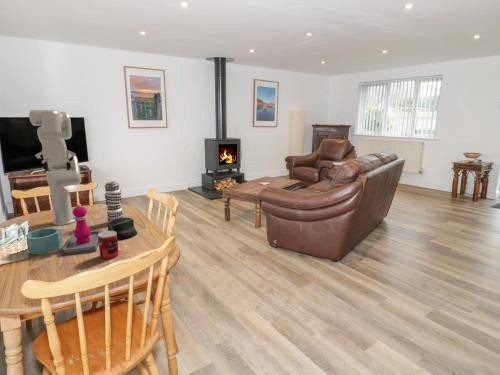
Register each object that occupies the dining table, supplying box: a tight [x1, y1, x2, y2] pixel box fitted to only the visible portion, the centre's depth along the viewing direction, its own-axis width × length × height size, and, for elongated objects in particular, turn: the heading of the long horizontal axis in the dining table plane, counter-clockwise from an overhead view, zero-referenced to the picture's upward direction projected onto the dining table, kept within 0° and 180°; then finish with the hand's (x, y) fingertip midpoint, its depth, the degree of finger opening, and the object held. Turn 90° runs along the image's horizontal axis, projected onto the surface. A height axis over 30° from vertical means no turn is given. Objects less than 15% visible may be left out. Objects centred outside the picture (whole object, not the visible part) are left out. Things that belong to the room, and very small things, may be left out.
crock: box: [25, 227, 63, 256], centre depth 148 cm, size 14×14×8 cm
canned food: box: [98, 230, 120, 260], centre depth 140 cm, size 8×8×11 cm
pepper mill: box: [72, 203, 91, 244], centre depth 152 cm, size 7×7×20 cm
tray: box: [61, 229, 103, 256], centre depth 154 cm, size 22×14×3 cm, turn 18°
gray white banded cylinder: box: [104, 181, 124, 224], centre depth 182 cm, size 9×9×25 cm
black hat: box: [107, 216, 138, 242], centre depth 165 cm, size 20×20×9 cm
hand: (58, 170), depth 154 cm, fingers open, 9 cm apart
